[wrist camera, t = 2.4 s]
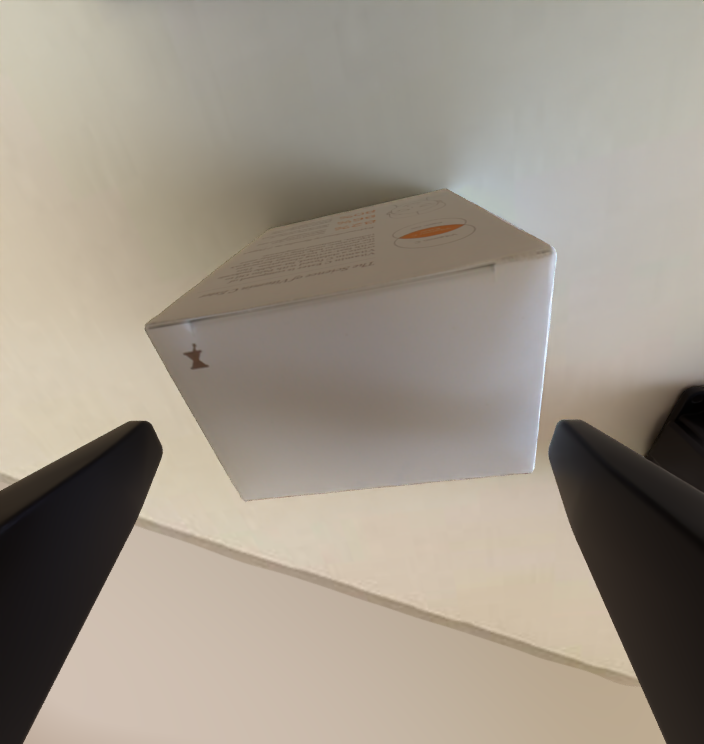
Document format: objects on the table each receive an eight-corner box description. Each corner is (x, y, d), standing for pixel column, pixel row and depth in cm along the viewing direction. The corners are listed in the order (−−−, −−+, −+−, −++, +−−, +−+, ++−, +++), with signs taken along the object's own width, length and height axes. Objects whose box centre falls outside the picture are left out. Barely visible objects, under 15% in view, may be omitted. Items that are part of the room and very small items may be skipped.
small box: (302, 335, 19) (235, 507, 10) (267, 224, 16) (126, 327, 7) (457, 309, 17) (541, 481, 8) (451, 184, 14) (568, 247, 6)
